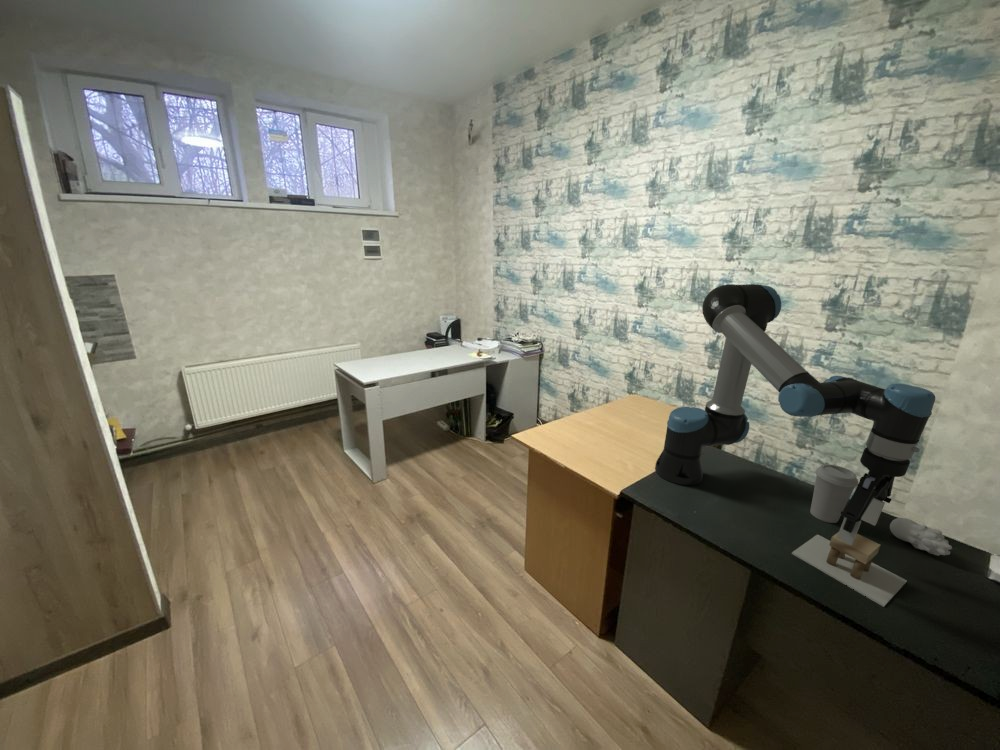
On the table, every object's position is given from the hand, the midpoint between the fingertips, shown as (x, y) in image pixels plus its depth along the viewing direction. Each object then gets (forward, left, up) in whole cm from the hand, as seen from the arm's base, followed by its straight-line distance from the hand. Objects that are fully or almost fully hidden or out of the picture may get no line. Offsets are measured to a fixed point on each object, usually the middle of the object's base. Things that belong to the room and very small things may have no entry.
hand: (856, 531), depth 93 cm
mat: (0, 0, -10) cm, 10 cm away
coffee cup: (-12, +19, -11) cm, 24 cm away
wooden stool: (0, 0, -10) cm, 10 cm away
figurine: (+6, +26, -11) cm, 29 cm away
